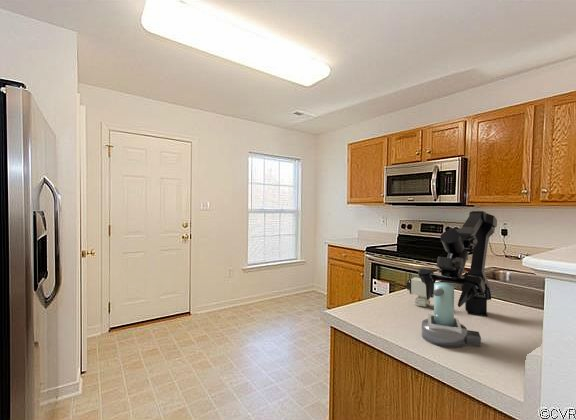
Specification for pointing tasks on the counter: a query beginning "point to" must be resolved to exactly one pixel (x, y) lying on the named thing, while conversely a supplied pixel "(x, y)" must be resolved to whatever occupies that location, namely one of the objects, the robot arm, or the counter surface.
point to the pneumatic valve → (418, 291)
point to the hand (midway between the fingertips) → (442, 302)
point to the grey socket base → (449, 334)
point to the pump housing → (444, 304)
